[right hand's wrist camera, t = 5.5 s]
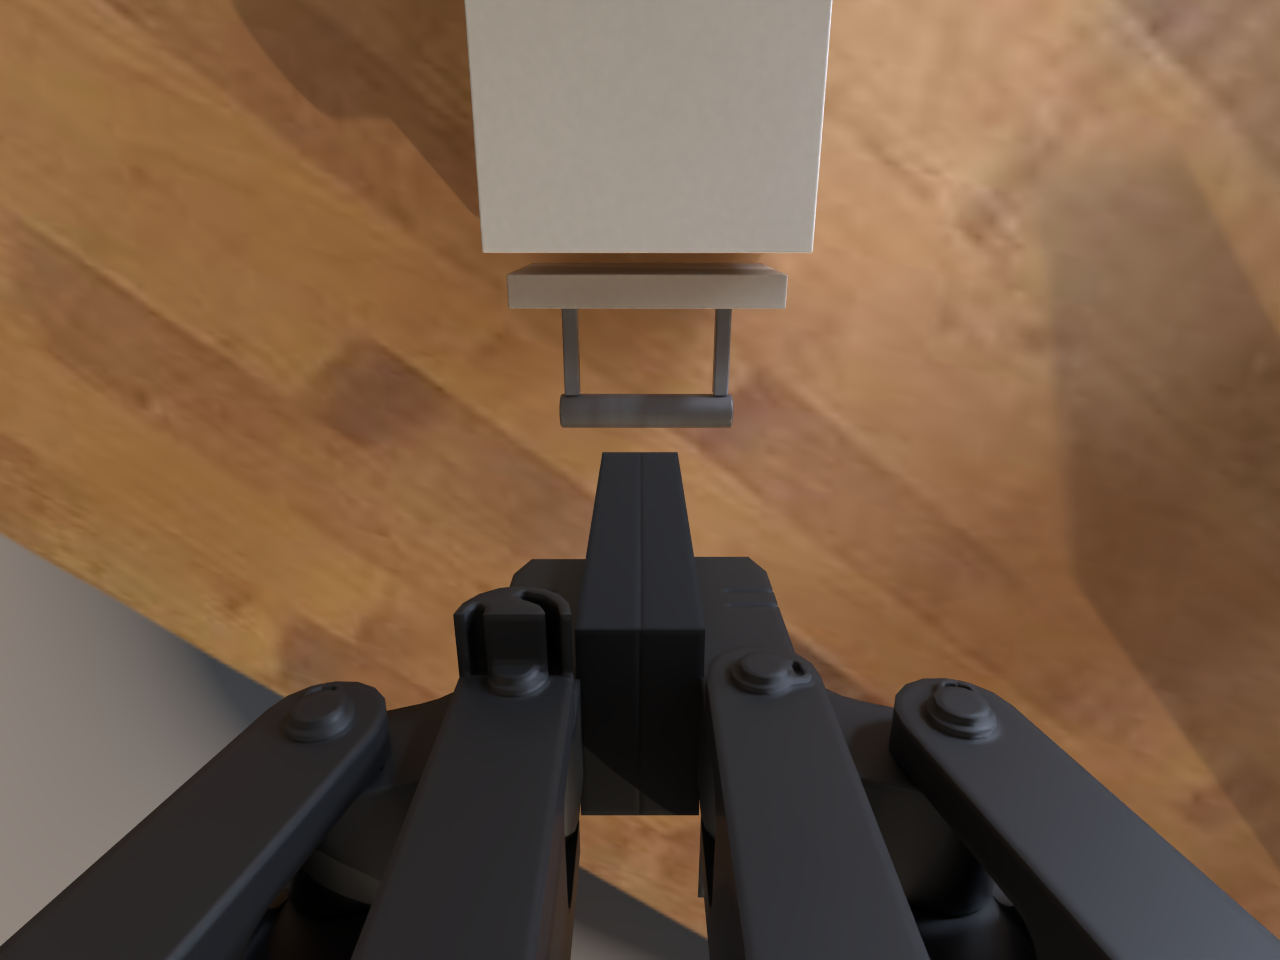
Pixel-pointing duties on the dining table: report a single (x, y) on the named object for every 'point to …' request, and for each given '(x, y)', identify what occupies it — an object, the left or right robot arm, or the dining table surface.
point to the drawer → (646, 291)
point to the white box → (647, 124)
